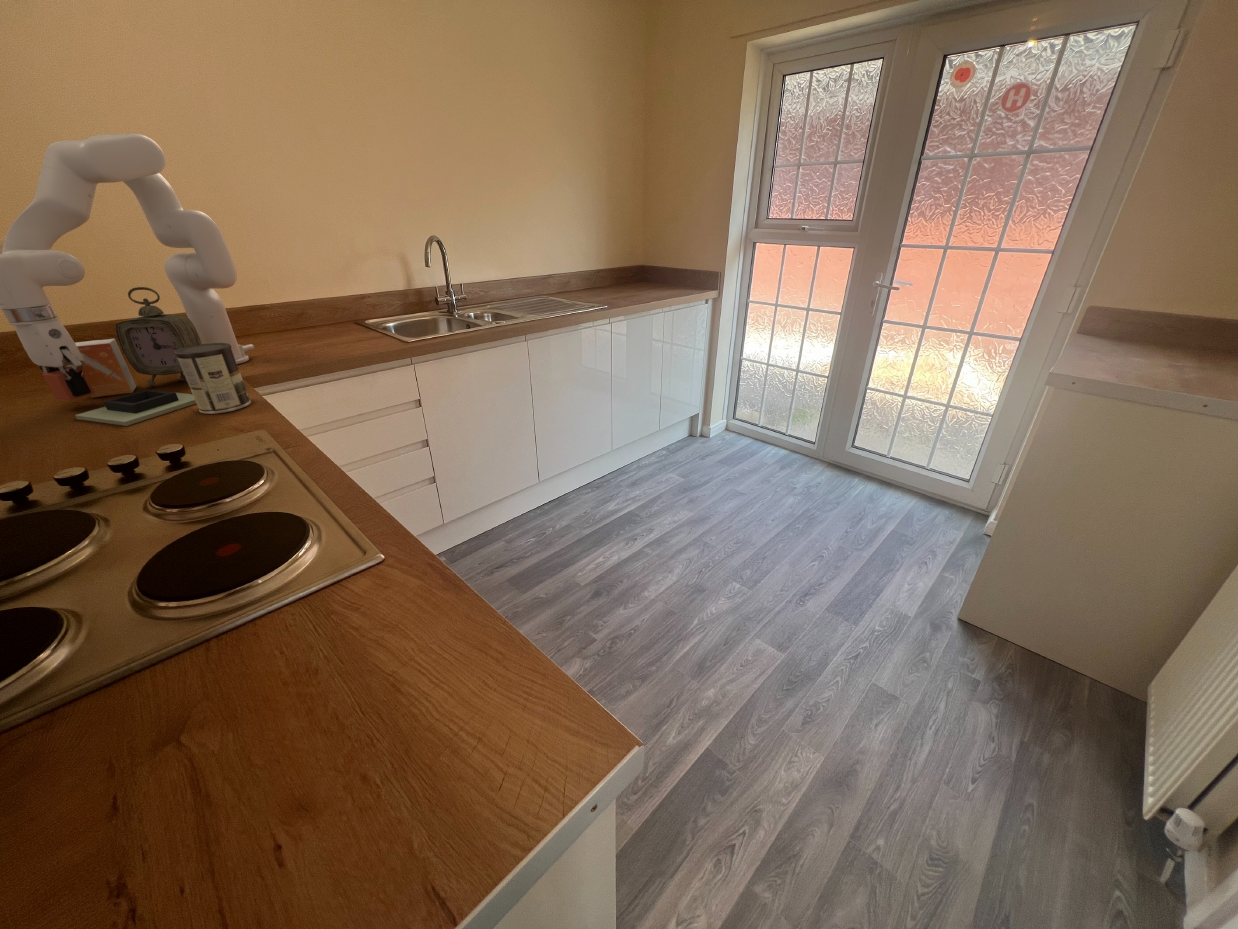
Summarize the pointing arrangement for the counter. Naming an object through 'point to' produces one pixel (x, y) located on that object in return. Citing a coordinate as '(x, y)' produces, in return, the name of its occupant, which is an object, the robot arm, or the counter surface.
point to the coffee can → (213, 377)
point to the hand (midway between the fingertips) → (74, 392)
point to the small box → (105, 368)
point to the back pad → (138, 407)
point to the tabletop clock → (155, 339)
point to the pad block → (63, 385)
